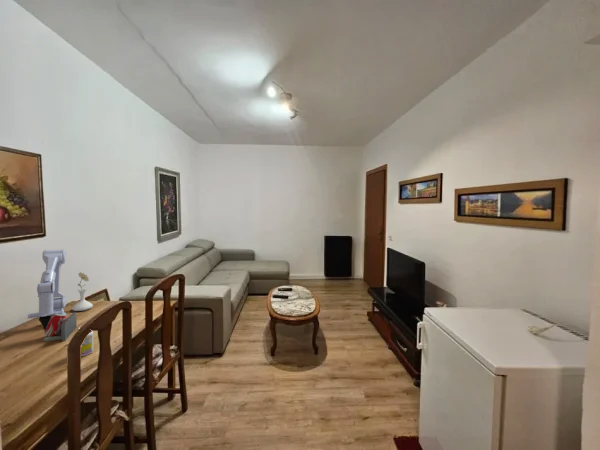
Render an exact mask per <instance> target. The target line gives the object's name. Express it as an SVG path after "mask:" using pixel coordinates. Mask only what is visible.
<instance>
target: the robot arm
mask: <svg viewBox="0 0 600 450" xmlns="http://www.w3.org/2000/svg"><path fill="white" fill-rule="evenodd" d="M66 253H67V251H66V250H65V249H48V250H47V249H44V250H43V251H42V255H41V256H42V260H43V263H44V264H45V265H46V266H45V270H44V271H43V272H42V274H41V277H40V283H38V284H37V287H36V292H37V297H38V312H33V313H29V314H27V319H31V318H32V319H34V318H38V321H39V322H40V324H41V325H42V327H43V331H44V332H45V329H46V327H47V324H48V322H49V320H50V318H51V316H52V315H54V312H55V314H62V315H63V314H64V312H65V310H64V308H65V307H66V302H67V301H66V295H65V294H64V293H62V292H60V289H61V287H60V286H61V268H62V265H64V264H65V263H66V260H67V259H66V257H67V254H66ZM56 311H57V312H56Z"/></svg>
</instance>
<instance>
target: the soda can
mask: <svg viewBox="0 0 600 450" xmlns="http://www.w3.org/2000/svg"><path fill="white" fill-rule="evenodd" d="M56 312H57V311H56ZM67 318H68V313H67V312H66V311H64V314H63V315H62V314H55V312H54V315H52V316H51V318H50V320H49V322H48V324H47V327H46V329H45V331H44V335H45V336H46V337H50V336H59V335H61V324H62V323H63V322H64V321H65V320H66V319H67Z"/></svg>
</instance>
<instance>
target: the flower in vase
mask: <svg viewBox="0 0 600 450" xmlns="http://www.w3.org/2000/svg"><path fill="white" fill-rule="evenodd" d="M78 276H79V278H80V279H81V280H80V282H79V283H78V284H77V286H79V287H80V288H79V289H77V291H78V292H79V295H80V297H79V301H78V302H76V303H75V304H73V306H71V307H72V308H71V310H72V311H75V312H77V311H78V312H81V311H88V310H89V309H91V308H93V306H94V305H93V303H91V302H90V301H88V300H86V299H85V295H86V291H87V289H88V288H83V287H85V286H86V284H84V285H81V283H82V280H83V281H84V282H89V281H90V280H89V279H90V278H89V277H88V274H85V273H84V272H81V271H80V272H78Z"/></svg>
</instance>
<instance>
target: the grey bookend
mask: <svg viewBox="0 0 600 450" xmlns="http://www.w3.org/2000/svg"><path fill="white" fill-rule="evenodd" d="M75 328H77V311H75V312H72V313H71V314H70V315H69V316H67V319H66V320H65V321H64V322H63V323H62V324H61V333H60V335H58V336H50V337H49V336H45V337H43V341H44V342H50V341H58V340H59V341H60V340H61V342H66V341H67V340H68V339H69V338H70V336H71V335H72V333H73V332H74V331H75V330H76V329H75ZM74 329H75V330H74ZM73 330H74V331H73ZM70 334H71V335H70ZM69 335H70V336H69Z"/></svg>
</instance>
